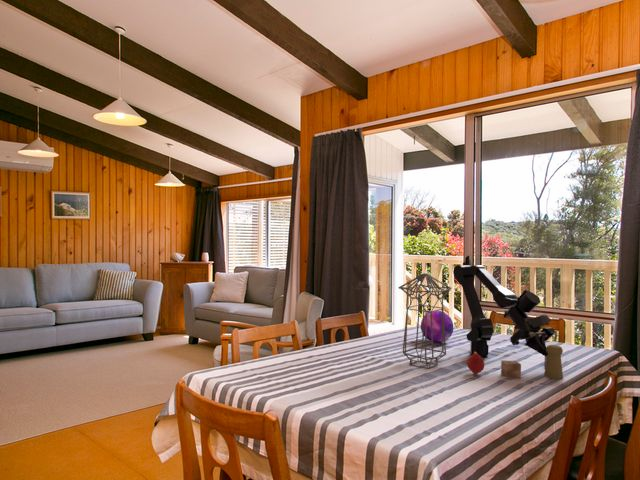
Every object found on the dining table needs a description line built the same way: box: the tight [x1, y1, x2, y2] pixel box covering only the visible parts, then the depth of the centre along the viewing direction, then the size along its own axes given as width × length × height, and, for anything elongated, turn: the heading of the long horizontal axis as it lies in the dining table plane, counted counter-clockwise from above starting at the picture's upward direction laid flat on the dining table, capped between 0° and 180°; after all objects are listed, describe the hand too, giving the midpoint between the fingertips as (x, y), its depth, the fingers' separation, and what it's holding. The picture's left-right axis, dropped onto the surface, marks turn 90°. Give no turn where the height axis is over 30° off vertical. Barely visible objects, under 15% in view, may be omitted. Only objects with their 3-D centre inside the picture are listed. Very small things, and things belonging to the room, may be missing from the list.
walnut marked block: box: [500, 359, 522, 380], centre depth 164 cm, size 5×5×5 cm
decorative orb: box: [420, 310, 454, 344], centre depth 220 cm, size 15×15×15 cm
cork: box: [543, 344, 564, 380], centre depth 165 cm, size 6×6×11 cm
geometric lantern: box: [398, 272, 452, 370], centre depth 177 cm, size 16×16×35 cm
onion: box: [466, 352, 485, 375], centre depth 166 cm, size 6×6×8 cm
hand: (547, 355), depth 167 cm, fingers closed
